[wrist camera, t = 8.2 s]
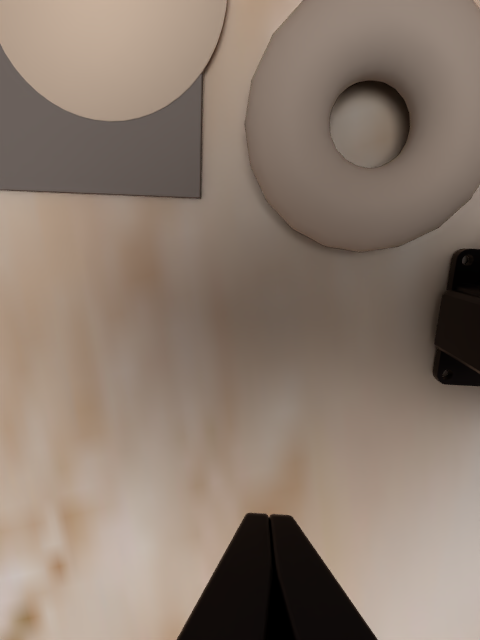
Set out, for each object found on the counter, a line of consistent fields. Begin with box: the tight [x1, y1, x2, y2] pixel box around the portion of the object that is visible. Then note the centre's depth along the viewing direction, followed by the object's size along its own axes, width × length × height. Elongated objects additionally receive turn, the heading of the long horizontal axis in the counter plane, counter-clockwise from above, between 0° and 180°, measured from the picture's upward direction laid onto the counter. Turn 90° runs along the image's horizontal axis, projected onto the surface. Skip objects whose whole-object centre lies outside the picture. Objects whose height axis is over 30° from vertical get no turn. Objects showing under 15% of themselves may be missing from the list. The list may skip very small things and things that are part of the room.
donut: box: [245, 0, 480, 252], centre depth 15 cm, size 10×3×10 cm
